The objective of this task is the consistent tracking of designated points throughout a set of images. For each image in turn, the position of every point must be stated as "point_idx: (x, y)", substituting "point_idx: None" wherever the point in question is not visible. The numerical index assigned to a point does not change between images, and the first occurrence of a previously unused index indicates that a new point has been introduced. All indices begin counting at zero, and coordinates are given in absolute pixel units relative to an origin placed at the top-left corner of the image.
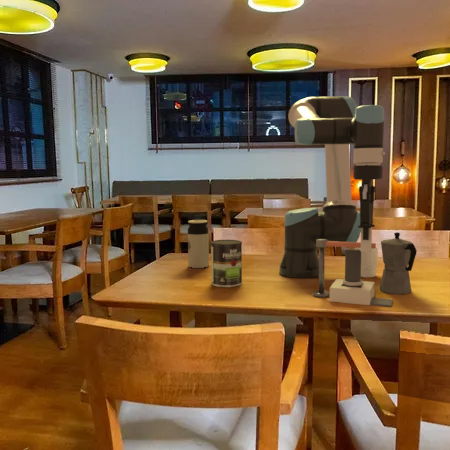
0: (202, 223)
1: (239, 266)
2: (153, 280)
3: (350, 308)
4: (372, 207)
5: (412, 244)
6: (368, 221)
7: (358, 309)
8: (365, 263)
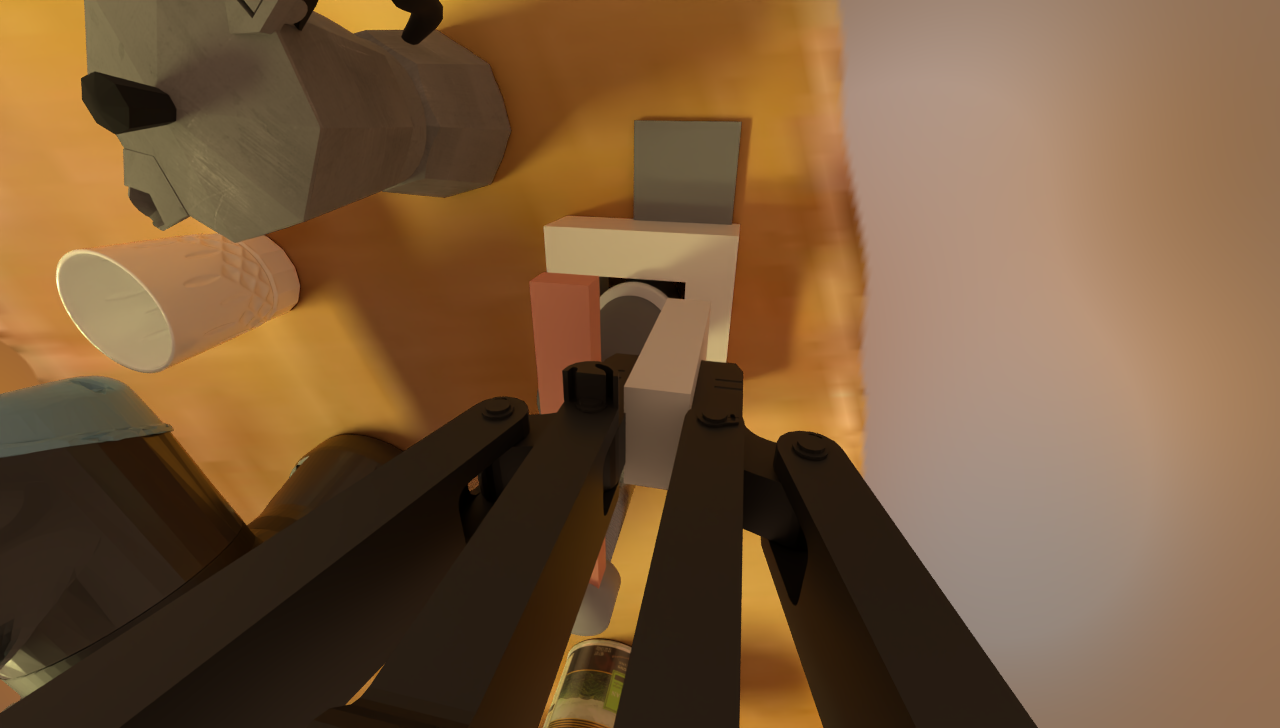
0: None
1: (602, 708)
2: None
3: (807, 300)
4: (341, 563)
5: None
6: (861, 498)
7: (815, 267)
8: (241, 290)
